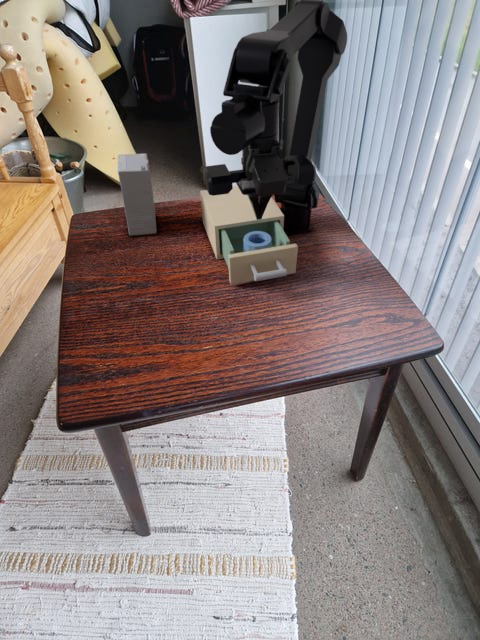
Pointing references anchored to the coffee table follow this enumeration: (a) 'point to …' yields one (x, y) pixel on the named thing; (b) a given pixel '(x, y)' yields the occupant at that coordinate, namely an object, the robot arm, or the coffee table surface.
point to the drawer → (257, 253)
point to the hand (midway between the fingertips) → (258, 218)
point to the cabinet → (232, 214)
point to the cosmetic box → (137, 193)
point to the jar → (256, 241)
